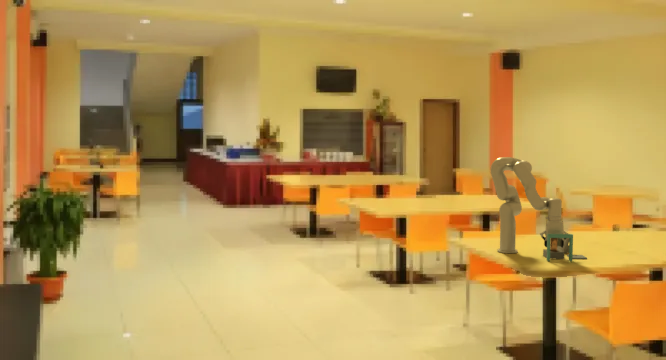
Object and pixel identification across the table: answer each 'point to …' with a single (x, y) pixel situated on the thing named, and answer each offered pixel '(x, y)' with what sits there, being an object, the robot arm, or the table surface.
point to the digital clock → (566, 246)
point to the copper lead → (553, 245)
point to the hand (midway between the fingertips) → (554, 247)
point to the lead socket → (554, 254)
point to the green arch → (560, 237)
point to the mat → (578, 257)
